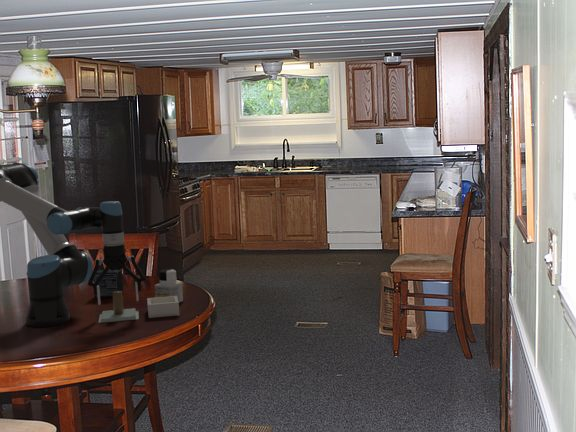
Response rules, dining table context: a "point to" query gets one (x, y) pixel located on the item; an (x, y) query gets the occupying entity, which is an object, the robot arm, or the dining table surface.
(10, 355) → the dining table surface
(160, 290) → the container
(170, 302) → the dish
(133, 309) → the lid
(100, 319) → the mat
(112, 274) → the small box
